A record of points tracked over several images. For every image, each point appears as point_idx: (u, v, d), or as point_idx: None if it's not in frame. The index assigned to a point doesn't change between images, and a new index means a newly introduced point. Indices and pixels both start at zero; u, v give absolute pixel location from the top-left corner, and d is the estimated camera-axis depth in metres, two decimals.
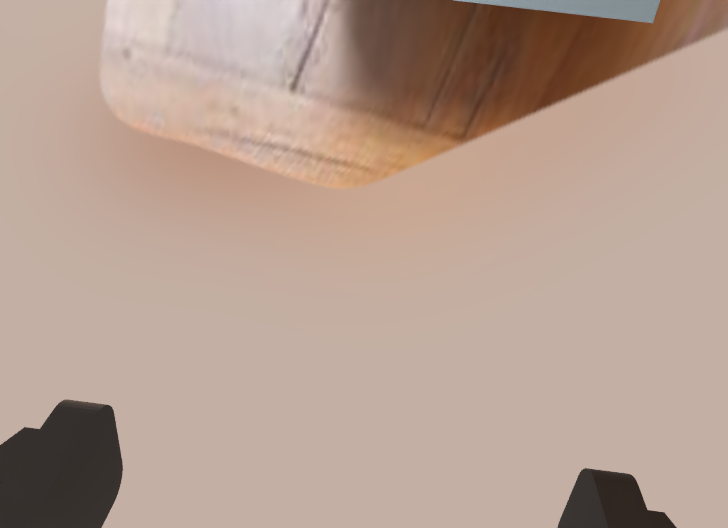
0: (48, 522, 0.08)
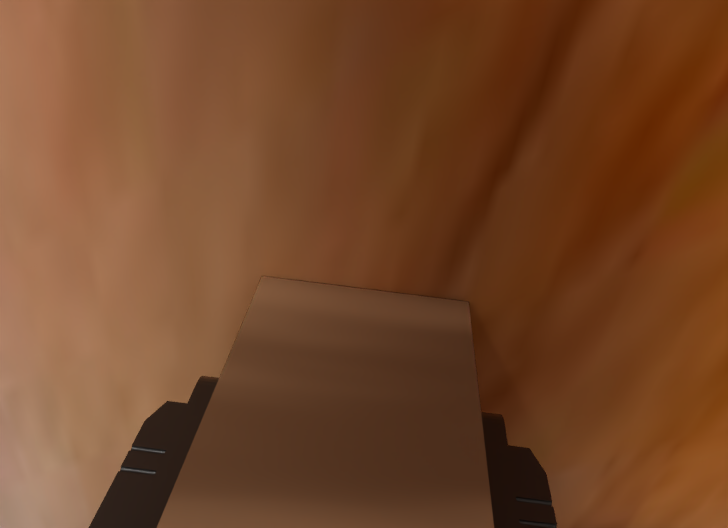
0: None
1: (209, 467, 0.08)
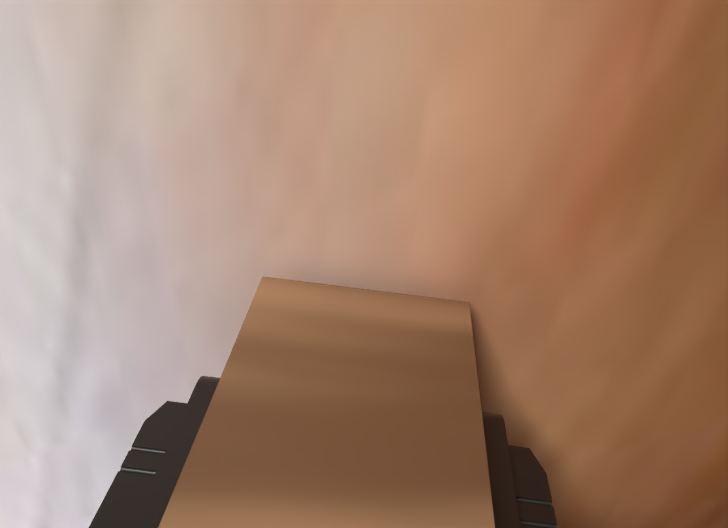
0: None
1: (210, 468, 0.08)
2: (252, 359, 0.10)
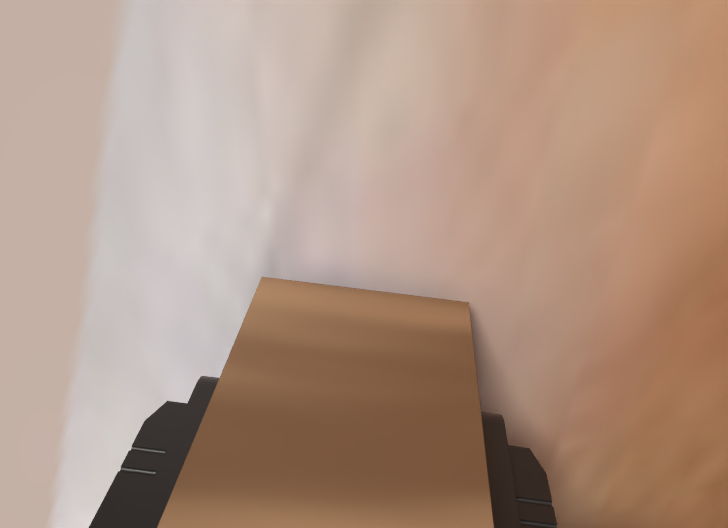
0: None
1: (209, 468, 0.08)
2: (251, 359, 0.10)
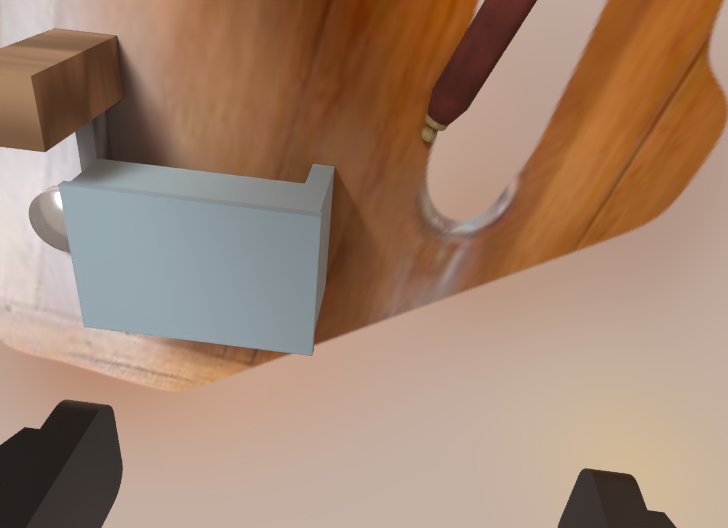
0: (48, 522, 0.08)
1: (19, 44, 0.35)
2: (40, 36, 0.37)
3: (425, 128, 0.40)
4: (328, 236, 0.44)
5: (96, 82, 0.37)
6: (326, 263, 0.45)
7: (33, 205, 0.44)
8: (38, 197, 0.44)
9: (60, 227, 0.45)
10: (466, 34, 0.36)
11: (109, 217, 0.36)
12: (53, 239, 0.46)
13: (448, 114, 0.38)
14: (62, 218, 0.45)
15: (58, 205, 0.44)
